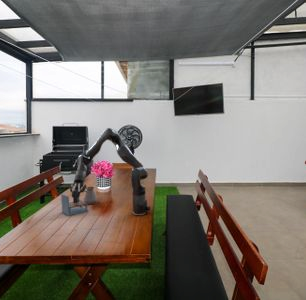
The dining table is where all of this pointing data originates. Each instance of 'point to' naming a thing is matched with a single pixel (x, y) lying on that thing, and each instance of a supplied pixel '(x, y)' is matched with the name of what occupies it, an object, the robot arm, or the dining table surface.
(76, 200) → the remote
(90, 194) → the coffee pot
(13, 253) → the dining table surface
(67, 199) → the grey u-shaped bracket
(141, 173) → the robot arm
